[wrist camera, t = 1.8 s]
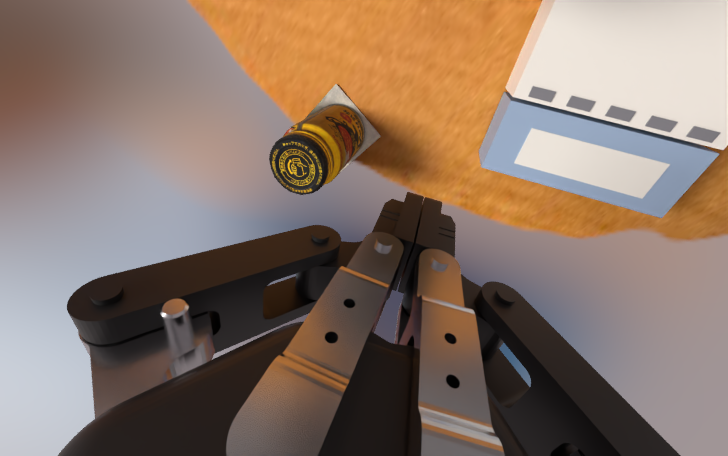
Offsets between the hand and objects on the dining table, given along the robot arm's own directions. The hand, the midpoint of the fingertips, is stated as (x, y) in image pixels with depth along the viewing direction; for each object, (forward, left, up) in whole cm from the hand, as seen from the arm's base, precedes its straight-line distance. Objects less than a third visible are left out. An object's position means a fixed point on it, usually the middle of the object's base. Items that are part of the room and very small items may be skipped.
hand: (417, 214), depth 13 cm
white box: (-9, +13, -22) cm, 28 cm away
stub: (0, +13, -22) cm, 26 cm away
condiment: (+6, -11, -23) cm, 26 cm away
